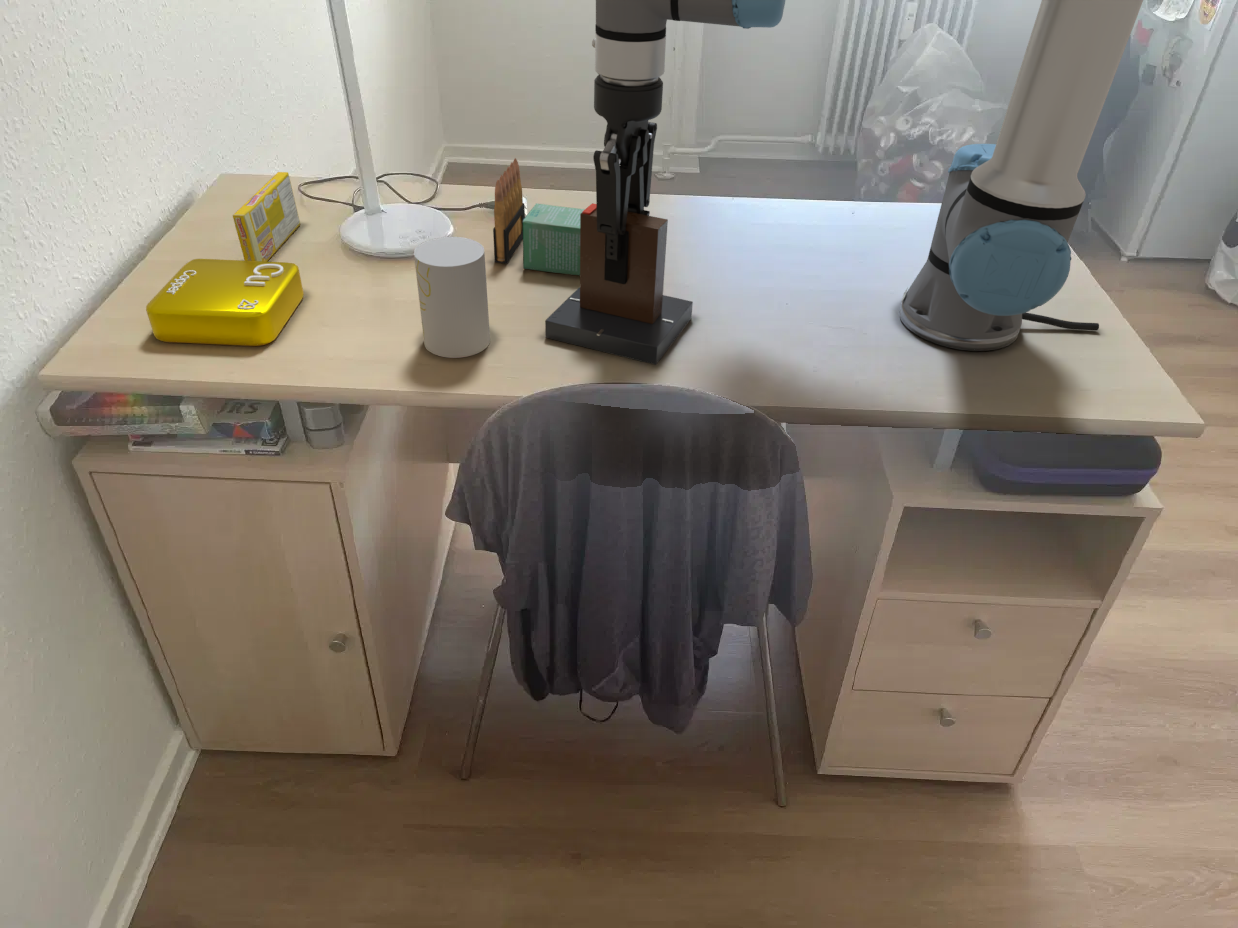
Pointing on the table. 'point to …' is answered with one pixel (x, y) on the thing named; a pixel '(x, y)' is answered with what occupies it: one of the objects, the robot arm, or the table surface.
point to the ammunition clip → (508, 214)
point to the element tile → (226, 302)
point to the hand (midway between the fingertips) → (621, 274)
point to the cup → (453, 296)
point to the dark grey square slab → (619, 329)
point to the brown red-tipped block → (643, 271)
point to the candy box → (267, 219)
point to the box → (552, 239)
